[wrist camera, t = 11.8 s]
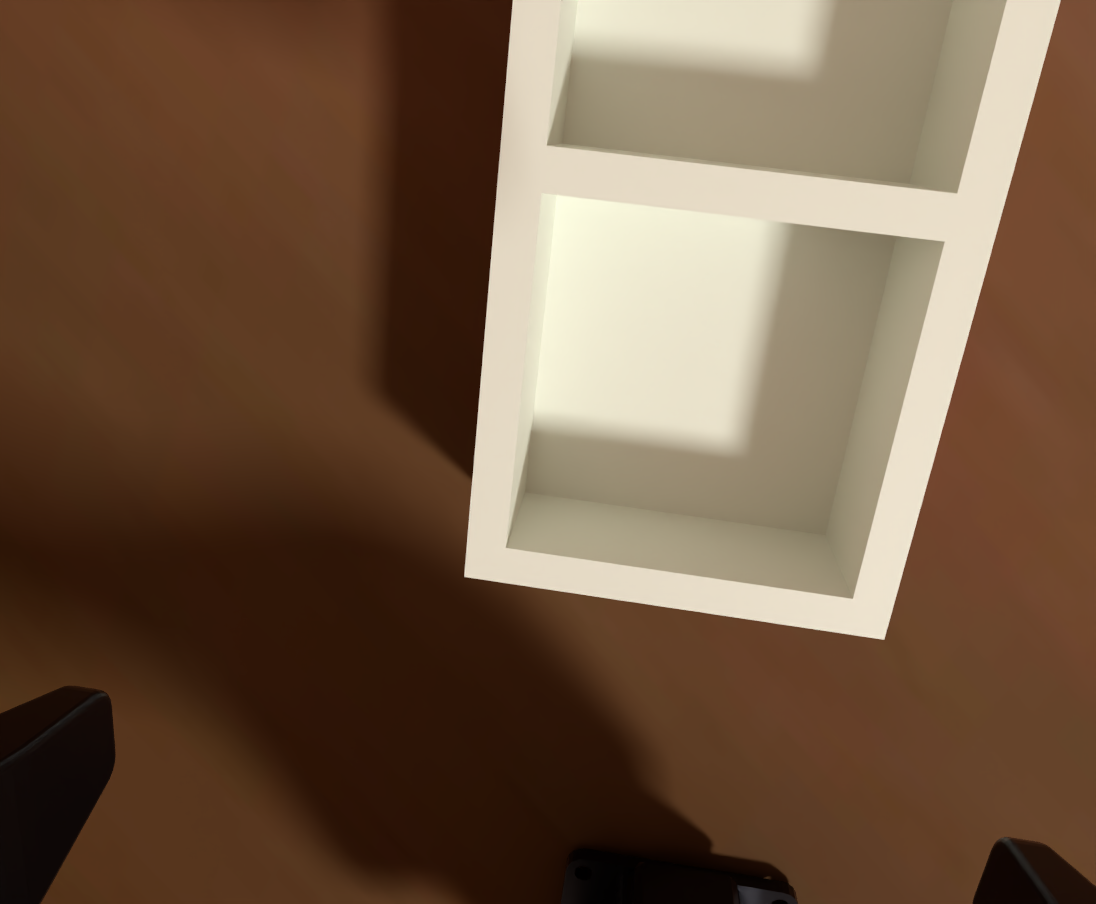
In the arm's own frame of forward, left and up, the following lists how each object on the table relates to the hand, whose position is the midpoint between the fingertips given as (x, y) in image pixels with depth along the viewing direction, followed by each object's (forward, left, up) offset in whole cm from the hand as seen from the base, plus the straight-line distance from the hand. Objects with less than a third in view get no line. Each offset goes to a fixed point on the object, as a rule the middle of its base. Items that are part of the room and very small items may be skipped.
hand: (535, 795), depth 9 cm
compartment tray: (+9, -2, -13) cm, 16 cm away
